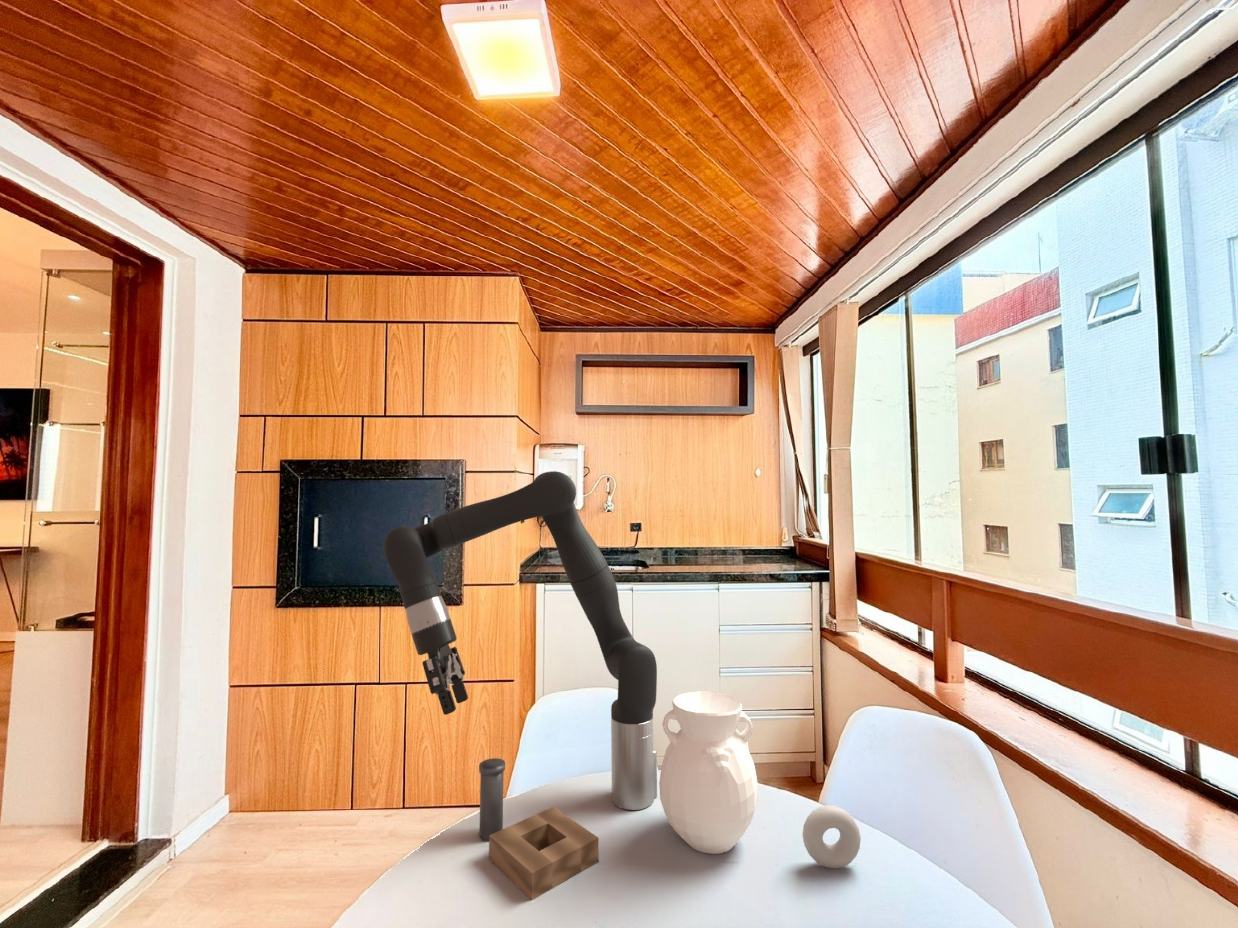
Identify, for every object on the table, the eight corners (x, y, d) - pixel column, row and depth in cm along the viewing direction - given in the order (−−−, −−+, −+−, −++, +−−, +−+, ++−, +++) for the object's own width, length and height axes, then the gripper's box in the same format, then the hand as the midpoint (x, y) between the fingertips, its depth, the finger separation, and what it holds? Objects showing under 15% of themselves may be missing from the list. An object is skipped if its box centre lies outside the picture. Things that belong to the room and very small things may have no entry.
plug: (496, 823, 106) (497, 755, 107) (509, 834, 102) (510, 764, 104) (473, 833, 103) (474, 763, 104) (485, 845, 99) (486, 772, 100)
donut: (807, 873, 90) (805, 811, 92) (800, 860, 94) (798, 801, 95) (866, 873, 91) (862, 811, 92) (856, 860, 94) (853, 800, 95)
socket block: (552, 828, 104) (553, 806, 105) (598, 861, 94) (598, 837, 95) (488, 859, 95) (489, 835, 95) (531, 899, 85) (532, 872, 85)
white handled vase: (751, 813, 109) (747, 687, 112) (767, 872, 91) (762, 720, 93) (661, 809, 111) (659, 685, 114) (659, 866, 93) (656, 717, 95)
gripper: (437, 620, 97) (466, 708, 94) (459, 614, 111) (484, 690, 108) (398, 636, 96) (425, 725, 93) (424, 628, 110) (449, 705, 107)
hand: (457, 706), depth 100 cm, fingers open, 8 cm apart
